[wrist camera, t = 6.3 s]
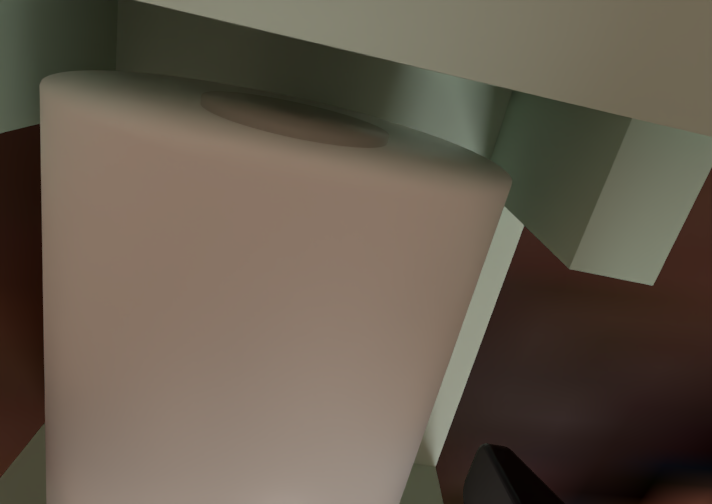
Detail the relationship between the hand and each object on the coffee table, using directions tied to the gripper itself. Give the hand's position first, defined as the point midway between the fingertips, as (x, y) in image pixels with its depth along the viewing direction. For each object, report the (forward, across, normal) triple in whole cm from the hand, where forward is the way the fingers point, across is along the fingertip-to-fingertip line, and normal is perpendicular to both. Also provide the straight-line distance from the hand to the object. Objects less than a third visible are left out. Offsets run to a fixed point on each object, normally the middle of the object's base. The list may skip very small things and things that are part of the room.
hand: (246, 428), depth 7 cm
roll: (+1, 0, 0) cm, 1 cm away
